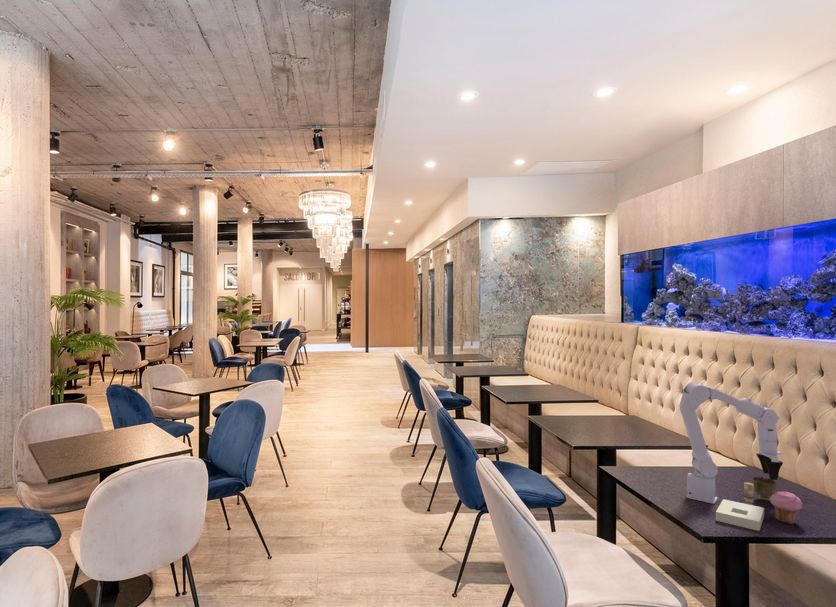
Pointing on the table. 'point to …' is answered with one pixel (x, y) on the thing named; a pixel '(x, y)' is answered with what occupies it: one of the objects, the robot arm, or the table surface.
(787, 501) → the cupcake
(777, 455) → the robot arm
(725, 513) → the board
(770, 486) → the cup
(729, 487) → the table surface
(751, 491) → the peg
